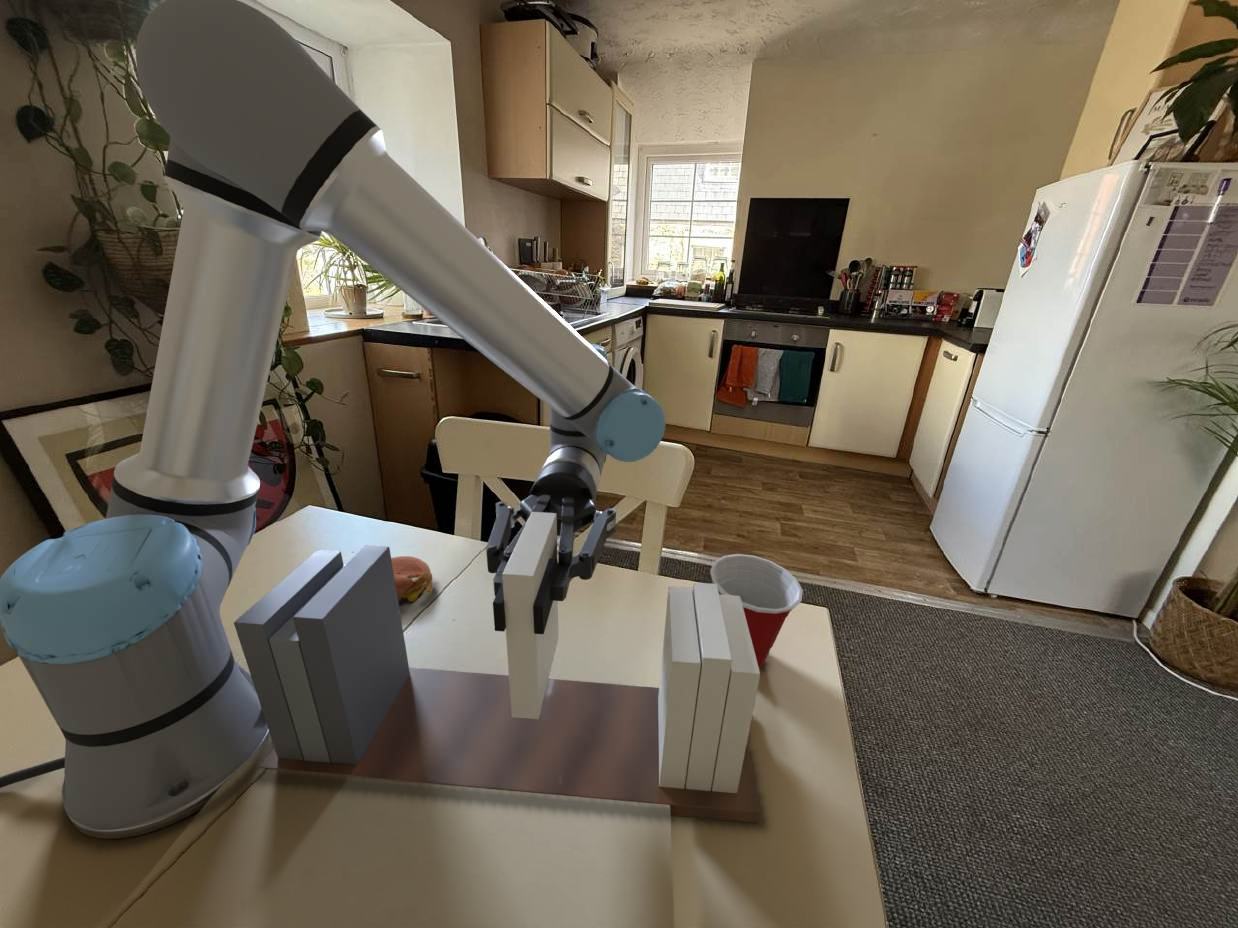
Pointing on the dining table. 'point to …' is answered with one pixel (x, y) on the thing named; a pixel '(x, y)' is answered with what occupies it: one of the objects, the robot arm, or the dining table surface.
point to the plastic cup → (758, 595)
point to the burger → (411, 578)
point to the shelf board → (531, 744)
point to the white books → (705, 690)
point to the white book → (529, 615)
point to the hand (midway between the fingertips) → (518, 618)
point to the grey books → (327, 654)
